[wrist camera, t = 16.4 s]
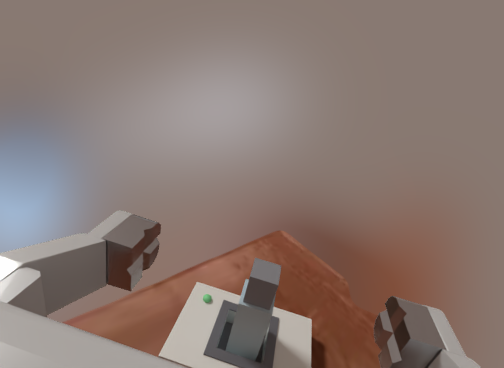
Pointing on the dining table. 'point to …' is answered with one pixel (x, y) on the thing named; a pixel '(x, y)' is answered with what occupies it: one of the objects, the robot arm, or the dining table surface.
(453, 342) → the robot arm
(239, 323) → the plug
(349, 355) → the dining table surface
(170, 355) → the block
